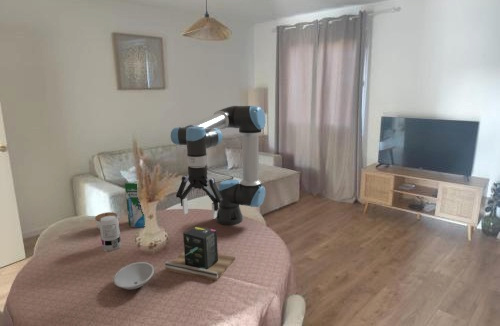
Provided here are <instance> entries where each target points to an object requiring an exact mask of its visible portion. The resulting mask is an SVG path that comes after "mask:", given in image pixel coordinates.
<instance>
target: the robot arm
mask: <svg viewBox="0 0 500 326" xmlns="http://www.w3.org/2000/svg"><path fill="white" fill-rule="evenodd" d="M265 126H266V115H265V112H264V110H263V108H261V107H260V106H257V105H244V106H243V105H232V106H231V105H230V106H227V107H225V108H221V109H220V110H216V111H215V112H214V113H213V114H212V115H210V116H208V117H205V118H202V119H201V120H198V121H195V122H193V123H191V124H189V125H185V126H184V127H183V126H182V127H181V126H177V127H173V129H171V131H170V141H171V142H172V143H173V144H175V145H179V146H186V151H187V152H186V154H187V155H186V156H187V166H188V167H187V174H186V175H183V176H182V177H181V183H180V185H179V188H178V189H177V192H176V195H175V197H176V198H179V199H180V206H181V207H182V215H183V216H185V215H187V214H189V209H188V206H189V205H188V203H189V202H188V198H187V196H188V195H189V194H190V192H191V191H192V189H198V190H202V191H203V192H204V193H206V195H207V197H208V198H209V199H210V201H212V203H211V217H212V219H213V220H216V223H218V224H220V225H225V226H230V225H233V226H234V225H237V224H240V223H241V222H243V218H244V217H243V213H242V211H241V207H240V206H245V207H250V208H259V207H261V205H262V204H264V200H265V197H266V188H265V186H263V185H262V181H261V180H260V179H259V176H260V174H259V172H260V171H259V135H260V134H261V133H262V130H263V129H264V128H265ZM224 129H238V133H239V134H240V136H241V145H242V146H241V150H242V152H241V153H242V156H241V157H242V159H241V160H242V179H241V180H240V181H239V179H233V178H232V179H226V180H222V181H220V182H219V183H218V186H217V184H216V180H215V178H214V177H212V178H208V166H207V165H208V161H207V149H209V148H212V147H216V146H217V145H218V146H219V145H220V144H221V143H222V141H223V136H224V135H223V133H222V131H221V130H224ZM188 182H189V184H188V186H187V183H188ZM186 186H187V188H186ZM185 188H186V189H185Z"/></svg>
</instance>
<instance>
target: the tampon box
mask: <svg viewBox="0 0 500 326" xmlns="http://www.w3.org/2000/svg"><path fill="white" fill-rule="evenodd" d="M217 233H218V231H217V230H216V229H212V228H207V227H203V226H200V225H195V226H194V227H192V228H190V229H188V230H187V231H185V232H183V233H182V235H183V249H184V251H183V252H185V265H188V266H192V267H197V268H201V269H206V270H207V269H208V268H209V267H211V266H212V265H213V264H215V263H216V262H217V261H218V254H219V253H218V237H217V235H218V234H217Z"/></svg>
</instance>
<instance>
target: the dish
mask: <svg viewBox="0 0 500 326" xmlns="http://www.w3.org/2000/svg"><path fill="white" fill-rule="evenodd" d="M154 272H155V268H154V266H153V264H151V263H149V262H145V261H139V262H133V263H130V264H129V263H128V264H127V265H125V266H123V267H121V268H120V269H119V270H118V271H117V272H116V273H115V275H114V276H113V283H114V286H117V287H119V288H120V289H121V288H122V289H124V290H136V289H138V288H141V287H142V286H144V285H145V284H147V282H148V281H149V280H150V279H151V278H152V277H153V275H154Z"/></svg>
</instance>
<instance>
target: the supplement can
mask: <svg viewBox="0 0 500 326" xmlns="http://www.w3.org/2000/svg"><path fill="white" fill-rule="evenodd" d="M119 223H120V222H119V219H118V216H117V217H116V216H113V215H111V216H105V217H103V218H101V220H100V223H99V224H100V229H99V230H100V231H99V232H100V237H101V238H100V239H101V247H102V250H104V251H105V250H106V251H105V252H112V250H113V251H116V250H118V249H120V247H121V246H122V240H121V234H120V233H121V232H120V224H119Z"/></svg>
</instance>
